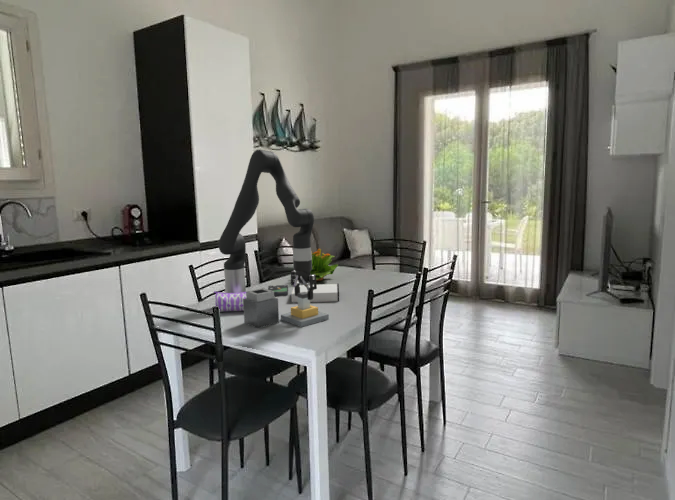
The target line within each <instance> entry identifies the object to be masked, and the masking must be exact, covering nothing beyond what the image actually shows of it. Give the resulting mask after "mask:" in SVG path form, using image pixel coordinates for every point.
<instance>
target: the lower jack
mask: <svg viewBox="0 0 675 500" xmlns="http://www.w3.org/2000/svg"><path fill="white" fill-rule="evenodd" d="M280 320H282V321H284V322H287V323H290V324H292V325H294V326H298V327H300V328H303V327H306V326H309V325H312V324H317V323H319V322H323V321H327V320H330V319H329V313H326V312H322V311H320V310H319V307H318V306H314V305H311V304H310V308H309V309H305V310H302V309H299V308H298V305H296V306H291V307H290V312H286V313H282V314H280Z"/></svg>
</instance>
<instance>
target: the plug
mask: <svg viewBox="0 0 675 500" xmlns="http://www.w3.org/2000/svg"><path fill="white" fill-rule="evenodd" d="M297 295H298V302H297V306H298V308H299V309H302V310H305V309H309V308H310V305H311V302H310V300H308V295H307V292H301V293H297Z"/></svg>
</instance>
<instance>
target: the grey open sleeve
mask: <svg viewBox="0 0 675 500" xmlns="http://www.w3.org/2000/svg"><path fill="white" fill-rule="evenodd" d="M246 297H247V298H245V299H243V305H244V311H243V319H244V322H243V323H244V324H247V325H248V324H249V326H251V327H253V328H256V329H261V328H264V327H268V326H272V325H276V324H279V323H280V319H279V318H280V316H279V315H280V312H279V298H278V297H276V296H274V291H271V290H268V288H264V287H263V288H258V289H257V288H256V289H252V290H246Z"/></svg>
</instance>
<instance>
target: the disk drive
mask: <svg viewBox="0 0 675 500" xmlns="http://www.w3.org/2000/svg"><path fill="white" fill-rule="evenodd" d="M267 289H268V290H271V291H274V297H282V296H283V297H284V296H285V297H286V296H287V297H288V295H289V286H288V284H281V285H279V284H276V285H268V287H267Z"/></svg>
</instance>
